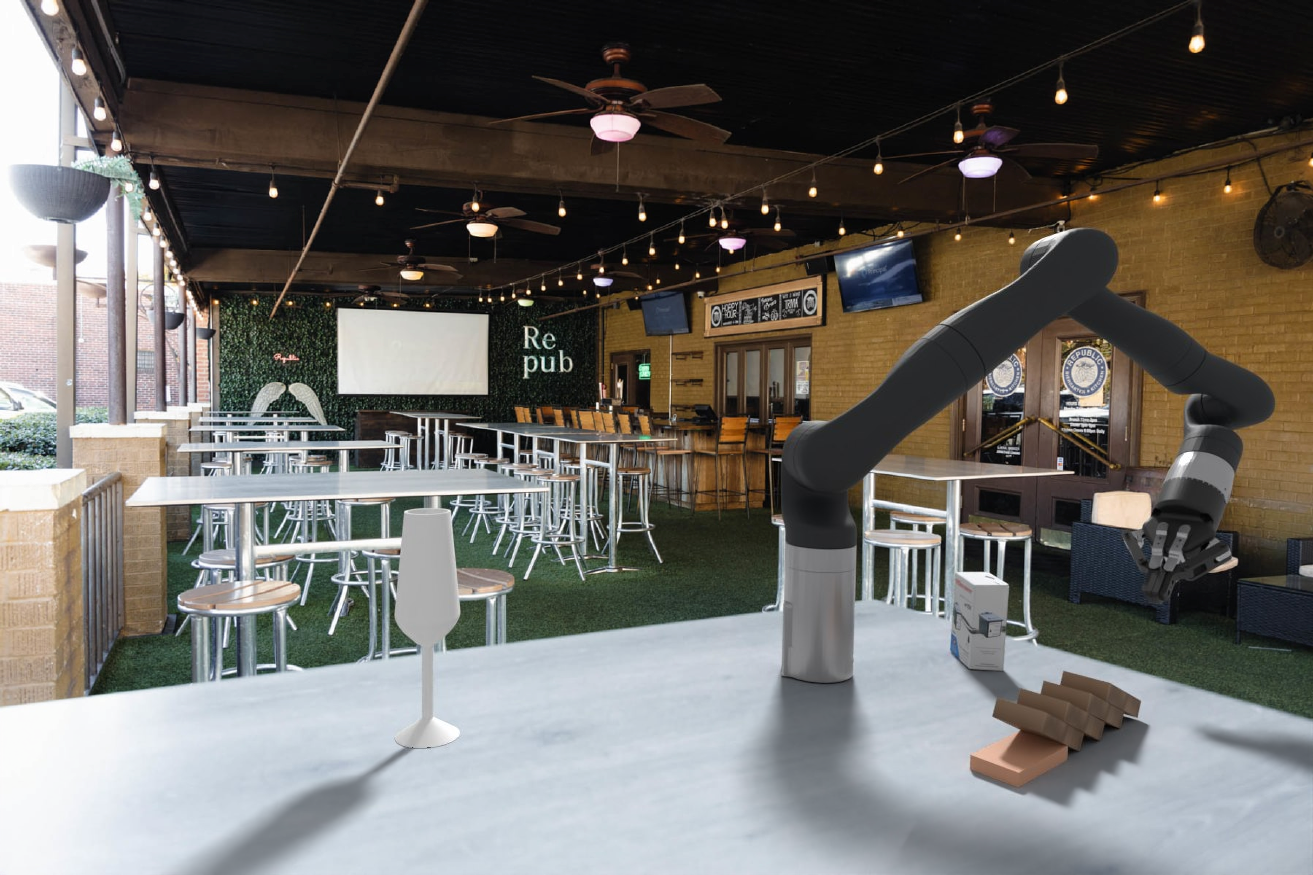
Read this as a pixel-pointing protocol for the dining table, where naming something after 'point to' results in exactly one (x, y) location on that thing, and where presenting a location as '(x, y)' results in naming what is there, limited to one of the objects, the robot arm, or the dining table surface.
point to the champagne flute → (427, 608)
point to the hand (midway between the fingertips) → (1153, 599)
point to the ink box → (979, 620)
